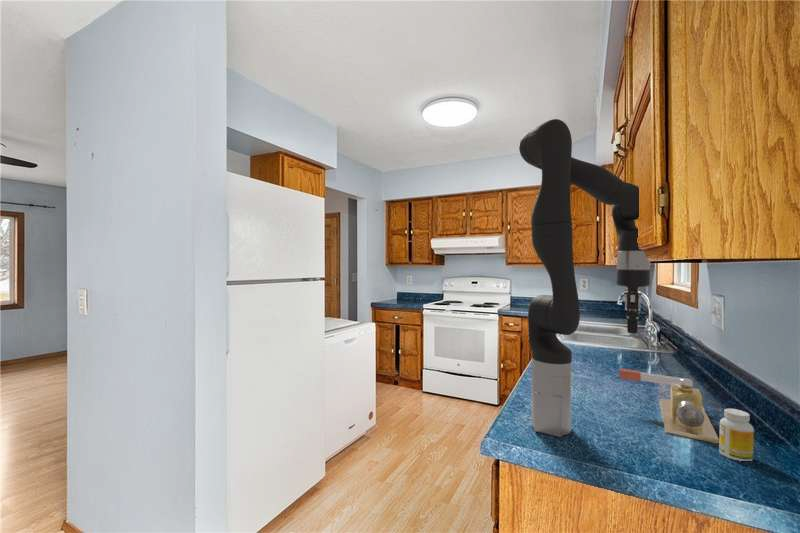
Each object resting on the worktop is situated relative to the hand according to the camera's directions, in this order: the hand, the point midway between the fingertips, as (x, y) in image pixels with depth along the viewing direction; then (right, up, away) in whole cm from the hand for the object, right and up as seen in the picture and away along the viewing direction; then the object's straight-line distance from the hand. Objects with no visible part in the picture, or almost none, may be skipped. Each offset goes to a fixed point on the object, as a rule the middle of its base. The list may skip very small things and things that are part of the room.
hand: (632, 331), depth 96 cm
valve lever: (+8, -15, +3) cm, 17 cm away
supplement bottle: (+10, -24, -19) cm, 32 cm away
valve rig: (+14, -24, -1) cm, 27 cm away
